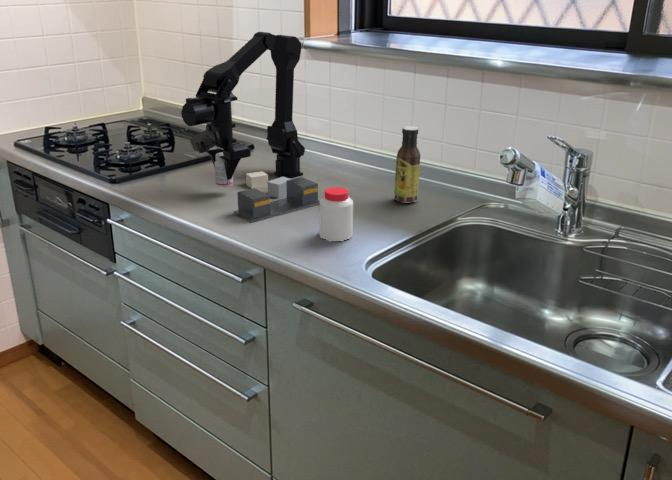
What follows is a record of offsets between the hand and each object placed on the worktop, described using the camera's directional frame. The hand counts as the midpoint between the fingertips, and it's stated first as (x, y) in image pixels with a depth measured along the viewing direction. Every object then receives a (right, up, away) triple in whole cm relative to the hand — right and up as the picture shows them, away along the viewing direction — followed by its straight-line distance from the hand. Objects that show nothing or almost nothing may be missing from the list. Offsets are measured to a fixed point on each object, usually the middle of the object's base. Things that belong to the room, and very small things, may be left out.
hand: (224, 177), depth 181 cm
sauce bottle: (+49, -7, -1) cm, 49 cm away
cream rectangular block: (+8, -2, +9) cm, 12 cm away
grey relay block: (+15, -5, +3) cm, 16 cm away
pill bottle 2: (+30, -16, -24) cm, 42 cm away
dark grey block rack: (+15, -9, -8) cm, 19 cm away
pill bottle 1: (0, -2, +1) cm, 2 cm away
